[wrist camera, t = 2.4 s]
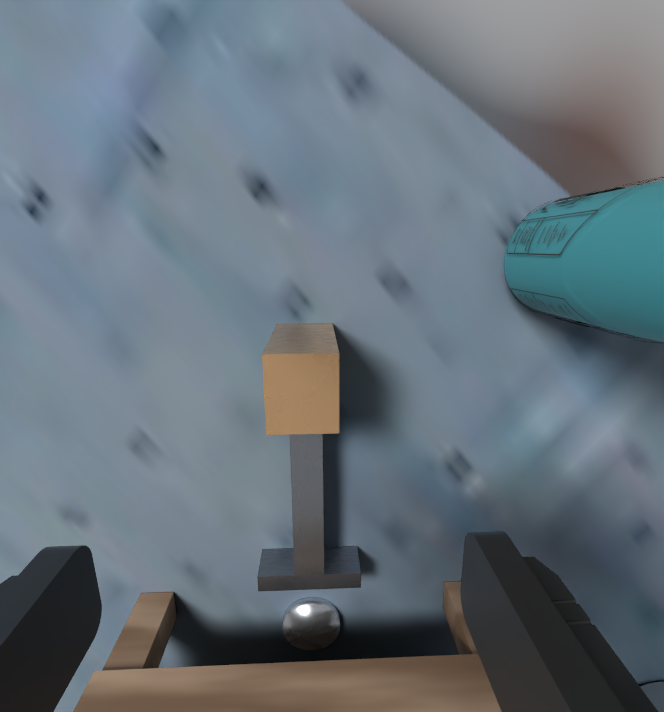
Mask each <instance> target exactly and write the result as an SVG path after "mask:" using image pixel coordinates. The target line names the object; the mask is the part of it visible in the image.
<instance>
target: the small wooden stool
mask: <svg viewBox="0 0 664 712" xmlns="http://www.w3.org/2000/svg"><path fill="white" fill-rule="evenodd" d="M460 589H461V581H454V582H444V595H443V610H444V613H445V615H446V618H447V621H448V624H449V627H450V629H451V632H452V635H453V638H454V641H455V643H456V646H457V649H458V652H459V655H441V656H418V657H396V658H374V659H351V660H329V661H306V662H284V663H261V664H239V665H217V666H194V667H172V668H158V667H159V664H160V661H161V659H162V656H163V653H164V651H165V648H166V645H167V643H168V640H169V637H170V635H171V632H172V629H173V627H174V624H175V621H176V618H177V615H176V607H175V600H174V592H161V593H141V594H140V596H139V598H138V600H137V602H136V604H135V606H134V608H133V610H132V612H131V614H130V616H129V618H128V620H127V622H126V624H125V626H124V628H123V630H122V632H121V634H120V636H119V638H118V640H117V642H116V644H115V646H114V648H113V650H112V652H111V654H110V656H109V658H108V660H107V662H106V664H105V666H104V668H103V670H102V671H94V673H93V675H92V677H91V679H90V680H89V682H88V684H87V686H86V688H85V690H84V692H83V694H82V696H81V698H80V700H79V702H78V704H77V705H76V707H75V709H74V711H73V712H502V711H501V709H500V706H499V704H498V702H497V699H496V697H495V694H494V692H493V689H492V687H491V684H490V682H489V679H488V677H487V674H486V672H485V669H484V667H483V664H482V662H481V659H480V657H479V654H478V652H477V649H476V647H475V644H474V642H473V640H472V637H471V635H470V632H469V630H468V627H467V625H466V622H465V619H464V615H463V610H462V605H461V596H460Z"/></svg>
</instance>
